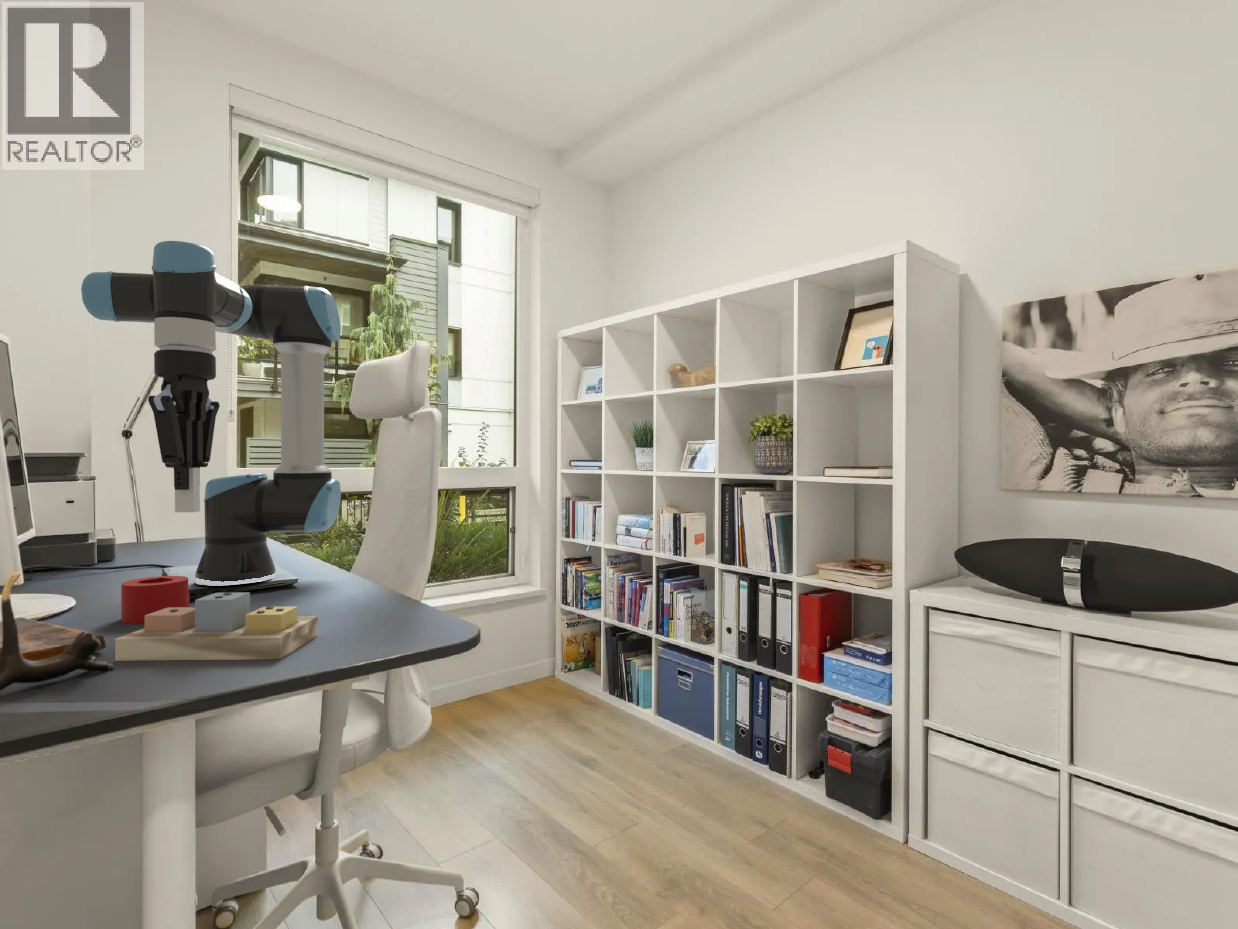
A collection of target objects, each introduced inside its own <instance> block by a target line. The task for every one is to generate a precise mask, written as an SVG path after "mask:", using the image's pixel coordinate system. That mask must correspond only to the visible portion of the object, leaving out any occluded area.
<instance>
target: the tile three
mask: <svg viewBox="0 0 1238 929" xmlns="http://www.w3.org/2000/svg"><path fill="white" fill-rule="evenodd" d="M297 617H298V606H262V607H260V608H258V609H256V610H253V611H250V613H248V614H246V632H265V631H284V630H286V629H288V628H290V627H291V626H293V625H295V624H297Z"/></svg>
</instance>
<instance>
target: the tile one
mask: <svg viewBox="0 0 1238 929" xmlns="http://www.w3.org/2000/svg"><path fill="white" fill-rule="evenodd" d="M193 627H195V606H194V607H193V606H191V607H190V606H189V607H168V608H165V609H162V610H159V611H156V612H153V613H150V614H147V615H145V624H144V628H145V633H146V632H183V631H186V630H188V629H190V628H193Z"/></svg>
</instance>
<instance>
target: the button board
mask: <svg viewBox="0 0 1238 929" xmlns="http://www.w3.org/2000/svg"><path fill="white" fill-rule="evenodd" d="M318 621H319V620H318V616H315V615H313V616H310V615H309V616H306V615H304V616H300V615H299V616H297V624H295V625H293V626H291V627H290V628H288V629H286V630H284V631H265V632H246V625H245V626H243V627H241V628H239V629H237V630H235V631H233V632H195V627H193V628H190V629H188V630H186V631H183V632H146V633H145V627H143V628H140V629H138V630H135V631H132V632H130V633H128V634H125V635H122V636H119V637H117V638H115V647H114V648H115V650H114V651H115V654H114V655H115V656H114V657H115V662H116V661H117V662H121V661H122V662H126V661H127V662H130V661H131V662H136V661H140V662H141V661H147V662H148V661H221V660H222V661H224V660H225V661H227V660H228V661H229V660H230V661H231V660H232V661H236V660H237V661H239V660H243V661H244V660H247V661H248V660H281V659H283V658H284V657H286V656H288V655H289V654H291V653H293V652H294V651H295V650H297V649H298V648H300V647H302V646H303V645H305V644H307V643H309V642H310V641H311V640H313V639H315V638H316V637H317V636H318V634H319V633H318V632H319V628H318V623H319V622H318Z"/></svg>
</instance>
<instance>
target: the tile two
mask: <svg viewBox="0 0 1238 929" xmlns="http://www.w3.org/2000/svg"><path fill="white" fill-rule="evenodd" d="M194 601H195V604H194V607H195V632H233V631H235V630H237V629H239V628H241V627H243V626H245V625H246V614H248V613H251V592H250V591H249V592H230V591H229V592H215V593H211V594H208V595H206V596H202V597H199V598H196V599H194Z"/></svg>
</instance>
